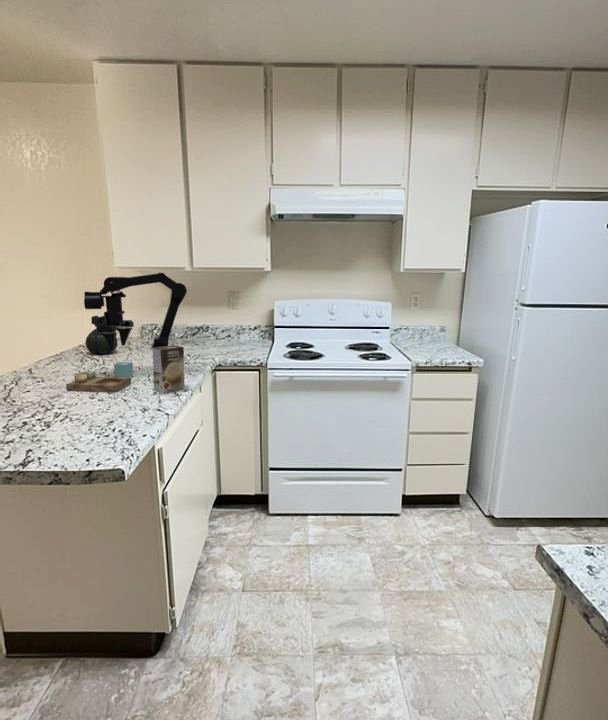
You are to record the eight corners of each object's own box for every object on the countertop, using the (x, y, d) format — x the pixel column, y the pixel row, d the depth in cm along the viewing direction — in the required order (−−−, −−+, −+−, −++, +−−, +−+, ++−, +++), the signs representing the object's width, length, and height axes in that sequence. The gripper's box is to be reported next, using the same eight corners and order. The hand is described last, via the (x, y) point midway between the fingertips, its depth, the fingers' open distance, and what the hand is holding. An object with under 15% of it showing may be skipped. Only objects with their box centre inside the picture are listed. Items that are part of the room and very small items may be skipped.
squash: (89, 347, 198) (107, 322, 204) (75, 344, 207) (92, 321, 213) (111, 362, 208) (128, 339, 214) (97, 359, 217) (113, 337, 223)
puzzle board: (131, 383, 156) (130, 371, 155) (116, 392, 145) (115, 379, 144) (85, 382, 157) (83, 369, 156) (66, 390, 145) (65, 377, 144)
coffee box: (163, 394, 145) (161, 349, 141) (153, 390, 149) (151, 347, 145) (185, 389, 152) (184, 346, 148) (175, 385, 156) (174, 344, 152)
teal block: (132, 376, 168) (131, 362, 166) (127, 379, 163) (126, 364, 162) (120, 376, 168) (119, 361, 166) (114, 379, 163) (113, 364, 162)
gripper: (107, 306, 171) (110, 343, 174) (80, 310, 153) (85, 351, 156) (132, 306, 170) (135, 343, 174) (109, 311, 152) (113, 351, 155)
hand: (117, 347), depth 165 cm, fingers open, 9 cm apart
